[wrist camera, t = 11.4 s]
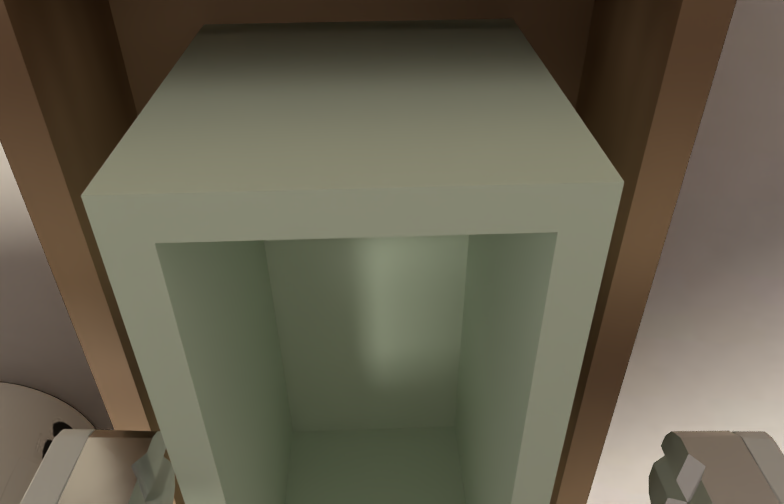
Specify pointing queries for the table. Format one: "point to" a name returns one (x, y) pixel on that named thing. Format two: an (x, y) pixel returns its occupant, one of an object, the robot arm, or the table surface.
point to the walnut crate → (348, 4)
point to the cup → (29, 435)
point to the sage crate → (358, 261)
